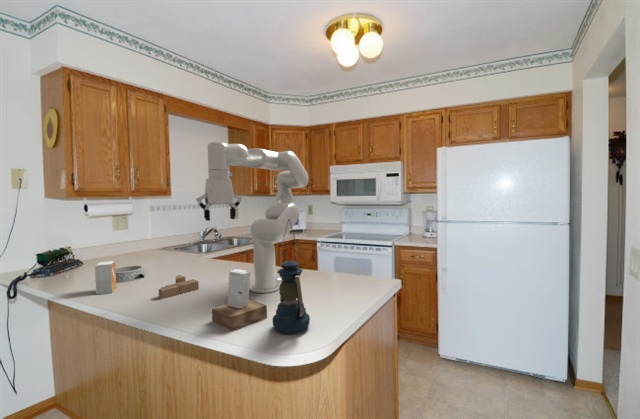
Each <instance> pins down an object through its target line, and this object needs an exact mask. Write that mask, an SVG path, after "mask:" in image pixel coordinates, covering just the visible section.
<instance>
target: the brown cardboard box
mask: <svg viewBox="0 0 640 419" xmlns="http://www.w3.org/2000/svg"><path fill="white" fill-rule="evenodd" d="M211 316H212V317H211V320H212V322H213V323H214V324H217V325H219V326H220V327H223V328H225V329H226V330H229V331H235V330H238V329H240V328H243V327H246V326H248V325H252V324H254V323H257V322H259V321H262V320H265V319H267V318H268V304H267V305H266V304H265V303H262V302H259V301H256V300H252V299H251V298H249V300H248V305H247V306H246V307H244V308H241V309H239V308H235V307H232V306H228V303H225V304H223V305H219V306H216V307H213V308H211Z"/></svg>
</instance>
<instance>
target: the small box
mask: <svg viewBox="0 0 640 419" xmlns="http://www.w3.org/2000/svg"><path fill="white" fill-rule="evenodd" d="M115 268H116V261H114V260H110V261H99V262H98V263H96V264H95V265H94V274H95V293H96V295H102V294H110V293H111V294H112V293H113V292H114V291H115V290H116V289H117V283H116V269H115Z"/></svg>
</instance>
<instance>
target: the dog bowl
mask: <svg viewBox="0 0 640 419" xmlns="http://www.w3.org/2000/svg"><path fill="white" fill-rule="evenodd" d="M115 269H116V284H120V283H128V282H129V283H130V282H134V281H135V279H137V278H139V277H141V276H143V277H144V278H147V275H146V272H145V268H144V266H142V265H126V266H120V267H115Z"/></svg>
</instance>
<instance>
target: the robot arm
mask: <svg viewBox="0 0 640 419" xmlns="http://www.w3.org/2000/svg"><path fill="white" fill-rule="evenodd" d="M206 147H207V168H208V170H207V173H208V178H206V179H205V186H204V194H203V195H200V196H198V197H197V198H196V199H195V200H196V203H197V204H198V206H199V207H200V208H201V209H202V210H203V218H204V220H205V221H208V222H209V221H210V220H211V213H210V212H211V210H210V209H209V208H211V207H212V205H213V206H215V205H217V206H218V205H220V206H221V205H228V206H229V207H230V209H229V216H230V218H229V219H231V220H235V219H236V214H237V213H236V210H237V208H238V206H239V205H240V203H241V201H242V199H243V198H242V196H239V195H237V194H236V193H235V192H234V188H233V184H232V183H233V182H232V179H231V178H230V177H233V172H232V171H230V170H229V169H230V168H229V166H231V167H232V166H233V167H244V168H252V169H255V168H256V169H262V170H268V171H269V170H270V171H281V172H279V173H278V174H277V176H276V188H277V194H276V195H275V198H273V199H272V201H271V203H270V204H269V205H268V206H267V209H265V210H266V211H265V213H264V215H265V216H264V217H265V218H260V219H256V220H254V221H253V222H252V223H251V225H250V236H251V239H252V245H253V246H252V247H253V249H252V250H253V276H254V277H253V278H254V280H253V281H254V282H253V283H254V284H253V285H252V286H251V287H250V289H251V292H254V293H256V294H257V293H258V294H266V293H267V294H268V293H272V292H276V291H279V287H280V284H281V279H282V277H277V275H276V274H277V273H276V272H277V270H276V250H275V249H276V248H275V244H274V243H273V242H283V238H284V240H285V239H286V238H287V237H288V235H290V232H292V229H293V227H294V226H295V224H296V223H297V221H298V219H299V213H300V211H299V207H298V206H297V204H295V203H294V195H293V193H292V190H291V189H298V188H299V189H300V188H301V189H302V188H305V187H306V186H308V184H309V175H308V174H309V173H308V172H307V170H306V169H305V167H304V165H303V164H302V162H301V160H300V159H299V158H298V156H297V155H296V153H294V152H293V151H292V150H285V151H273V150H268V149H264V148H247V147H246V146H245V145H244V144H241V143H226V142H222V141H212V142H208V144H207V146H206ZM235 199H236V201H235V202H234V200H235ZM203 200H204V203H203ZM288 219H290V222H288ZM287 223H288V226H287ZM290 223H291V225H290ZM291 226H292V229H291ZM286 227H287V230H286ZM285 231H286V234H285ZM284 234H285V237H284Z"/></svg>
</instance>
